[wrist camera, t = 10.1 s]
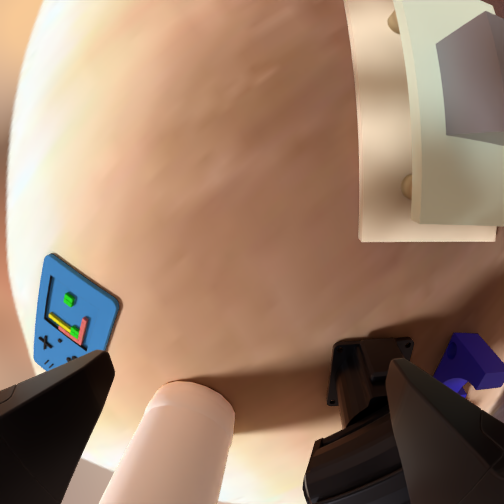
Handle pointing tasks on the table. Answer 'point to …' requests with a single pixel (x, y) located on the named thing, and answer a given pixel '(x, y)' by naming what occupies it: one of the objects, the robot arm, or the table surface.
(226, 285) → the table surface
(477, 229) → the plate
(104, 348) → the handheld gaming device
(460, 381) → the cable clip
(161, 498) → the bottle
